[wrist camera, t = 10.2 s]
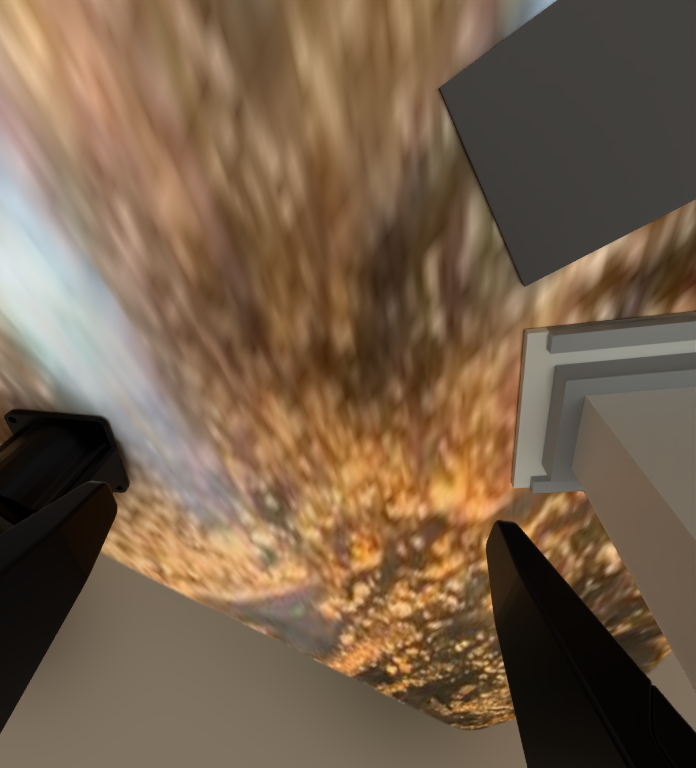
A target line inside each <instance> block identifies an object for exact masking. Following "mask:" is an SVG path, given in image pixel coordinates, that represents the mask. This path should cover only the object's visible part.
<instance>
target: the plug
mask: <svg viewBox="0 0 696 768" xmlns="http://www.w3.org/2000/svg"><path fill="white" fill-rule="evenodd" d="M542 466H543V468H544V470H545V472H546V474H547V476H548V478H549V480H550V482H566V481H578V482H579V484H580V485H581V487H582V489H583V491H584V493H585V494H586V496H587V498H588V500H589V502H590V503H591V505H592V507H593V509H594V511H595V512H596V514H597V516H598V518H599V520H600V521H601V523H602V525H603V527H604V529H605V530H606V532H607V534H608V536H609V537H610V539H611V541H612V543H613V545H614V546H615V548H616V550H617V552H618V554H619V555H620V557H621V559H622V561H623V563H624V564H625V566H626V568H627V570H628V572H629V573H630V575H631V577H632V579H633V581H634V582H635V584H636V586H637V588H638V590H639V591H640V593H641V595H642V597H643V599H644V600H645V602H646V604H647V606H648V608H649V609H650V611H651V613H652V615H653V617H654V618H655V620H656V622H657V624H658V626H659V627H660V629H661V631H662V633H663V635H664V636H665V638H666V640H667V642H668V643H669V645H670V647H671V649H672V651H673V652H674V654H675V656H676V658H677V660H678V661H679V663H680V665H681V667H682V669H683V670H684V672H685V674H686V676H687V678H688V679H689V681H690V683H691V685H692V687H693V688H694V690H695V692H696V352H692V353H682V354H671V355H660V356H650V357H639V358H628V359H618V360H607V361H596V362H585V363H575V364H564V365H555V371H554V379H553V386H552V393H551V400H550V408H549V415H548V422H547V429H546V436H545V444H544V451H543V458H542Z"/></svg>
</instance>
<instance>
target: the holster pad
mask: <svg viewBox="0 0 696 768" xmlns="http://www.w3.org/2000/svg"><path fill="white" fill-rule="evenodd" d="M439 90H440V92H441V94H442V97H443V99H444V101H445V104H446V106H447V108H448V111H449V113H450V115H451V118H452V120H453V122H454V125H455V127H456V129H457V132H458V134H459V136H460V139H461V141H462V144H463V146H464V148H465V151H466V153H467V155H468V158H469V160H470V162H471V165H472V167H473V169H474V172H475V174H476V176H477V179H478V181H479V183H480V186H481V188H482V190H483V193H484V195H485V197H486V200H487V202H488V204H489V207H490V209H491V211H492V214H493V216H494V218H495V221H496V223H497V225H498V228H499V230H500V232H501V235H502V237H503V239H504V242H505V244H506V246H507V249H508V251H509V253H510V256H511V258H512V260H513V263H514V265H515V268H516V270H517V272H518V275H519V277H520V279H521V282H522V284H523V285H524V287H525V286H527V285H529V284H531V283H533V282H535V281H537V280H539V279H541V278H543V277H545V276H547V275H549V274H551V273H553V272H555V271H556V270H558V269H560V268H562V267H564V266H566V265H568V264H570V263H572V262H574V261H576V260H578V259H580V258H582V257H584V256H586V255H588V254H590V253H592V252H594V251H595V250H597V249H599V248H601V247H603V246H605V245H607V244H609V243H611V242H613V241H615V240H617V239H619V238H621V237H623V236H625V235H627V234H629V233H631V232H632V231H634V230H636V229H638V228H640V227H642V226H644V225H646V224H648V223H650V222H652V221H654V220H656V219H658V218H660V217H662V216H664V215H666V214H668V213H670V212H671V211H673V210H675V209H677V208H679V207H681V206H683V205H685V204H687V203H689V202H691V201H693V200H695V199H696V0H557V1H556V2H555V3H553V4H552V5H551V6H549V7H548V8H547V9H545V10H544V11H542V12H541V13H540V14H538V15H537V16H536V17H534V18H533V19H532V20H530V21H529V22H528V23H526V24H525V25H524V26H522V27H521V28H520V29H518V30H517V31H516V32H514V33H513V34H512V35H510V36H509V37H507V38H506V39H505V40H503V41H502V42H501V43H499V44H498V45H497V46H495V47H494V48H493V49H491V50H490V51H489V52H487V53H486V54H485V55H483V56H482V57H481V58H479V59H478V60H477V61H475V62H474V63H473V64H471V65H470V66H468V67H467V68H466V69H464V70H463V71H462V72H460V73H459V74H458V75H456V76H455V77H454V78H452V79H451V80H450V81H448V82H447V83H446V84H444V85H443V86H442V87H440V88H439Z"/></svg>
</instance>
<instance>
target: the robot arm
mask: <svg viewBox="0 0 696 768" xmlns="http://www.w3.org/2000/svg"><path fill="white" fill-rule="evenodd" d="M4 418H5V420H6V422H7V424H8V426H9V428H10V430H11V432H12V434H13V436H11V437H10V438H9V439H8V440H7V441H5V442H4V443H3V444H2V445H1V446H0V733H1V731H2V730H3V728H4V726H5V724H6V723H7V721H8V719H9V717H10V716H11V714H12V712H13V710H14V709H15V707H16V705H17V703H18V702H19V700H20V698H21V696H22V694H23V693H24V691H25V689H26V687H27V685H28V684H29V682H30V680H31V678H32V677H33V675H34V673H35V671H36V670H37V668H38V666H39V664H40V663H41V661H42V659H43V657H44V656H45V654H46V652H47V650H48V648H49V647H50V645H51V643H52V641H53V640H54V638H55V636H56V634H57V633H58V631H59V629H60V627H61V625H62V624H63V622H64V620H65V618H66V616H67V615H68V613H69V611H70V609H71V608H72V606H73V604H74V602H75V601H76V599H77V597H78V595H79V594H80V592H81V590H82V588H83V586H84V584H85V583H86V581H87V579H88V577H89V575H90V573H91V571H92V568H93V566H94V564H95V562H96V560H97V557H98V555H99V553H100V551H101V548H102V546H103V544H104V542H105V539H106V537H107V535H108V533H109V530H110V528H111V526H112V524H113V521H114V519H115V517H116V514H117V503H116V501H115V498H114V496H113V492H119V493H124V492H125V491H126V490H127V489H128V487H129V483H128V480H127V477H126V474H125V471H124V469H123V466H122V463H121V460H120V457H119V454H118V451H117V449H116V446H115V443H114V440H113V437H112V434H111V432H110V429H109V426H108V424H107V422H106V421H105V420H104V419H102V418H98V417H88V416H77V415H66V414H54V413H43V412H32V411H21V410H11V411H9V412H8V413H7V414H6V415H5V416H4ZM486 555H487V564H488V572H489V581H490V589H491V598H492V606H493V614H494V621H495V626H496V631H497V636H498V640H499V644H500V649H501V653H502V658H503V662H504V667H505V671H506V675H507V680H508V684H509V689H510V693H511V697H512V702H513V706H514V711H515V715H516V719H517V724H518V728H519V732H520V737H521V742H522V746H523V750H524V755H525V759H526V763H527V768H696V732H695V731H694V730H693V729H692V727H691V726H690V725H689V724H688V723H687V722H686V721H685V720H684V718H683V717H682V716H681V715H680V714H679V713H678V712H677V711H676V709H675V708H674V707H673V706H672V705H671V703H670V702H669V701H668V700H667V699H666V698H665V696H664V695H663V694H662V693H661V692H660V691H659V689H658V688H657V687H656V686H654V685H652V683H651V680H650V679H649V678H648V677H647V676H646V674H645V673H644V672H643V671H642V670H641V669H640V667H639V666H638V665H637V664H636V663H635V662H634V660H633V659H632V658H631V657H630V656H629V655H628V653H627V652H626V651H625V650H624V649H623V647H622V646H621V645H620V644H619V643H618V642H617V640H616V639H615V638H614V637H613V636H612V635H611V633H610V632H609V631H608V630H607V629H606V628H605V626H604V625H603V624H602V623H601V622H600V621H599V619H598V618H597V617H596V616H595V615H594V614H593V612H592V611H591V610H590V609H589V608H588V607H587V605H586V604H585V603H584V602H583V601H582V599H581V598H580V597H579V596H578V595H577V594H576V592H575V591H574V590H573V589H572V588H571V587H570V585H569V584H568V583H567V582H566V581H565V580H564V578H563V577H562V576H561V575H560V574H559V573H558V571H557V570H556V569H555V568H554V567H553V566H552V564H551V563H550V562H549V561H548V560H547V559H546V557H545V556H544V555H543V554H542V553H541V551H540V550H539V549H538V548H537V547H536V546H535V544H534V543H533V542H532V541H531V540H530V539H529V537H528V536H527V535H526V534H525V533H524V532H523V530H522V529H521V528H520V527H519V526H518V525H517V524H516V523H515V522H512V521H503V520H497V521H496V522H495V523H494V525H493V528H492V530H491V533H490V535H489V538H488V540H487V544H486Z"/></svg>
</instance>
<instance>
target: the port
mask: <svg viewBox="0 0 696 768" xmlns="http://www.w3.org/2000/svg"><path fill="white" fill-rule="evenodd" d="M692 352H696V311H694V312H684V313H675V314H666V315H656V316H647V317H637V318H628V319H618V320H609V321H600V322H590V323H581V324H571V325H562V326H552V327H543V328H534V329H525V333H524V345H523V356H522V367H521V379H520V390H519V401H518V413H517V424H516V436H515V447H514V458H513V470H512V481H511V483H512V485H513V488H527V487H530V489H531V491H532V493H550V492H571V491H583V489H582V487H581V485H580V484H579V482H578V481H566V482H550V480H549V478H548V476H547V474H546V472H545V470H544V468H543V466H542V458H543V451H544V444H545V436H546V429H547V422H548V415H549V408H550V400H551V393H552V386H553V379H554V371H555V365H564V364H575V363H585V362H596V361H607V360H618V359H628V358H639V357H650V356H660V355H671V354H682V353H692Z"/></svg>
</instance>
